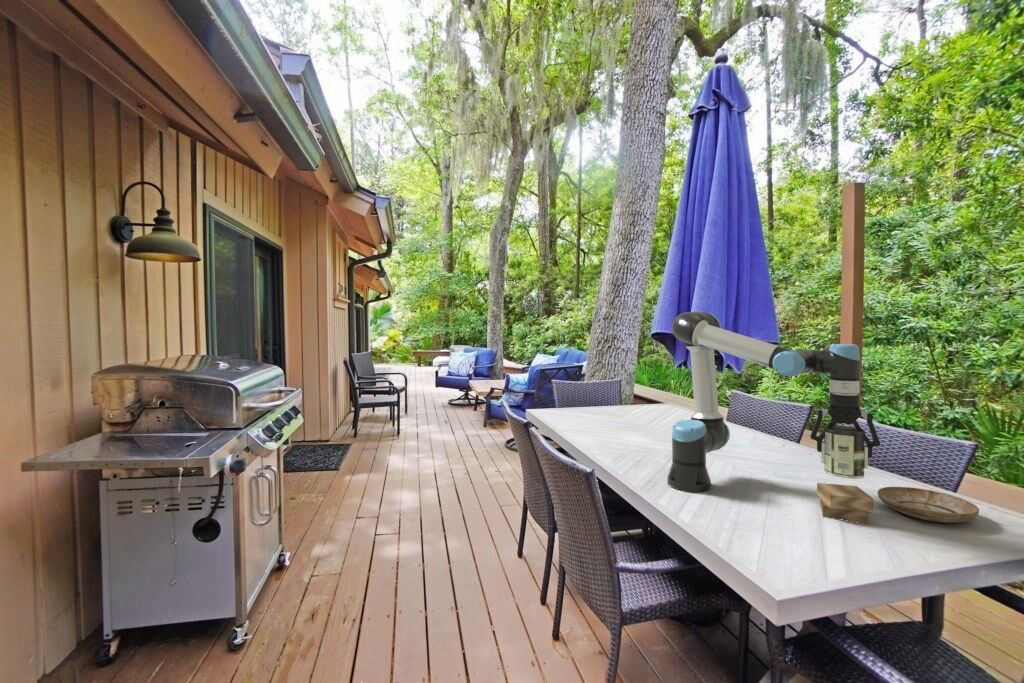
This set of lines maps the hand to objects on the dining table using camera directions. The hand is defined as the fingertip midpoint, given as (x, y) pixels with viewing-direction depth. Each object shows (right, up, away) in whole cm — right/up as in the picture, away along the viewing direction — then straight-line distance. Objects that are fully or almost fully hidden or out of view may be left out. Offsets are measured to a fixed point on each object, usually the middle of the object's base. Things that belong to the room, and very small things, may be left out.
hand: (843, 464), depth 140 cm
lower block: (0, -16, 0) cm, 16 cm away
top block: (0, -12, 0) cm, 12 cm away
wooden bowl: (+26, -16, 0) cm, 30 cm away
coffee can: (0, -3, 0) cm, 3 cm away
